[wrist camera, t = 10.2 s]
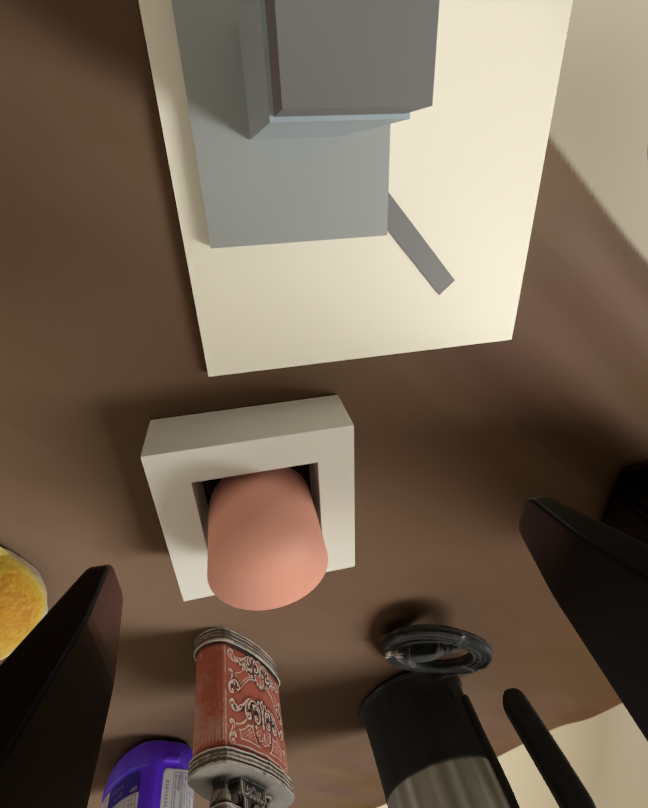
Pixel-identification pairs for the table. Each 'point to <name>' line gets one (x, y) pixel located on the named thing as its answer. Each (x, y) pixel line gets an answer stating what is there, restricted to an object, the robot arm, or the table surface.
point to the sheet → (358, 193)
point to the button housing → (248, 453)
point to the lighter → (237, 725)
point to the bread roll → (19, 600)
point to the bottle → (151, 777)
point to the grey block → (335, 64)
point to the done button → (264, 540)
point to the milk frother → (452, 729)
